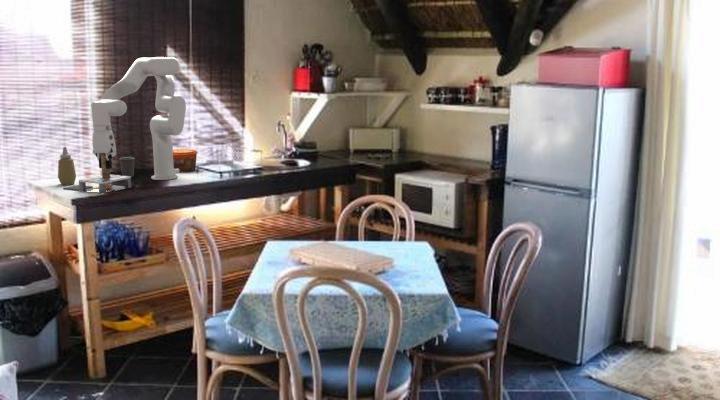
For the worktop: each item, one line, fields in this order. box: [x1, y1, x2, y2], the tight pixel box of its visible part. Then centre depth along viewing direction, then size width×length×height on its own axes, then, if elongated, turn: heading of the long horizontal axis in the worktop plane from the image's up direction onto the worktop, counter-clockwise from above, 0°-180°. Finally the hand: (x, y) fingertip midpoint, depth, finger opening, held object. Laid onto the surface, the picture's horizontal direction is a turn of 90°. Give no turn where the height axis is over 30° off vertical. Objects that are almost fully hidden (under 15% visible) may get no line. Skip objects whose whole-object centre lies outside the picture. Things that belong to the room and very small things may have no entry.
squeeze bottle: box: [57, 146, 77, 186], centre depth 335 cm, size 8×8×18 cm
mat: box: [62, 184, 94, 192], centre depth 326 cm, size 9×9×1 cm
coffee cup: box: [118, 156, 136, 178], centre depth 360 cm, size 8×8×10 cm
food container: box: [173, 148, 198, 173], centre depth 379 cm, size 16×16×11 cm
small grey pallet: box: [78, 174, 132, 194], centre depth 324 cm, size 18×14×5 cm
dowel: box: [100, 153, 111, 180], centre depth 322 cm, size 3×3×13 cm
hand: (105, 167), depth 323 cm, fingers closed on dowel, 3 cm apart
